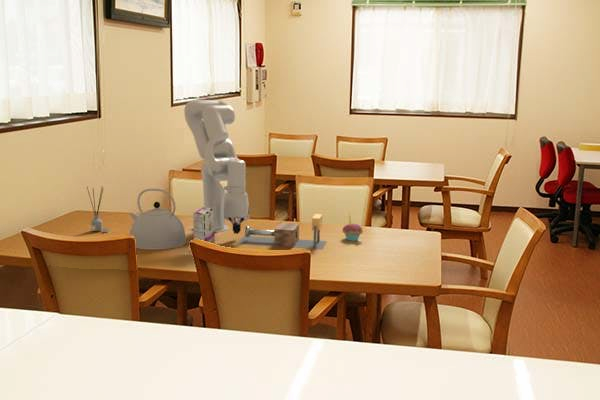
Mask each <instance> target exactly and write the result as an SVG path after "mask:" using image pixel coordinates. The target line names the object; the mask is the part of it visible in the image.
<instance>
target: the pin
mask: <svg viewBox="0 0 600 400" xmlns="http://www.w3.org/2000/svg"><path fill="white" fill-rule="evenodd" d="M244 234H245V235H244V236H246V237H250V236H262V237H274V229H273V230H272V229H259V228H258V229H257V228H256V229H255V228H251V226H248V225H246V226H245V229H244Z"/></svg>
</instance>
